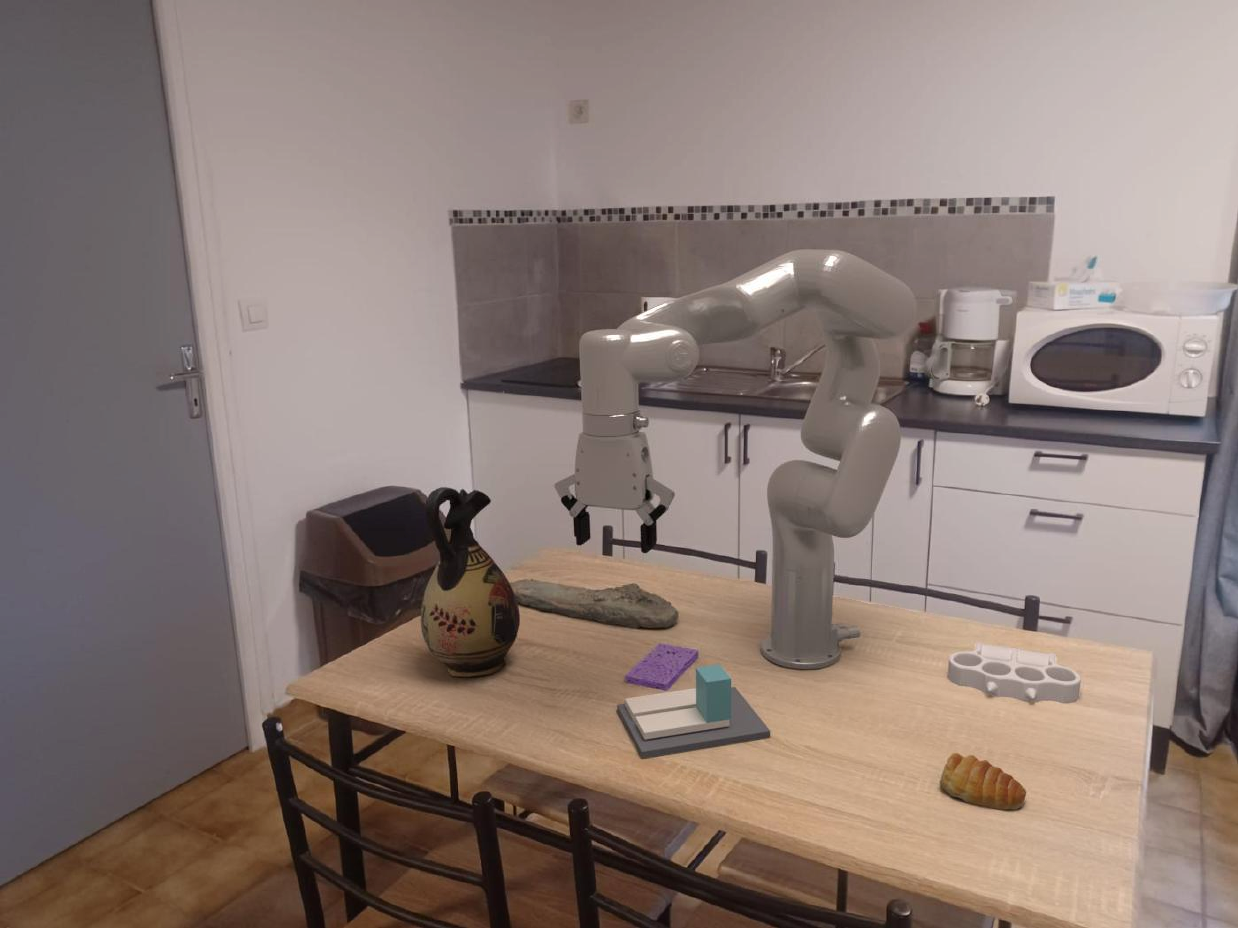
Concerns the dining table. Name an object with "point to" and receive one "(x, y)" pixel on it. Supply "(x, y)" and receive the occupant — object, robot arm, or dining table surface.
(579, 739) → the dining table surface
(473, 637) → the ceramic jug
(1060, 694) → the knuckle duster
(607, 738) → the dining table surface
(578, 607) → the elongated rock
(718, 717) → the stub
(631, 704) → the ticket
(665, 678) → the sponges
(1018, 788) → the pastry
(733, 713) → the mat
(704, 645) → the dining table surface
